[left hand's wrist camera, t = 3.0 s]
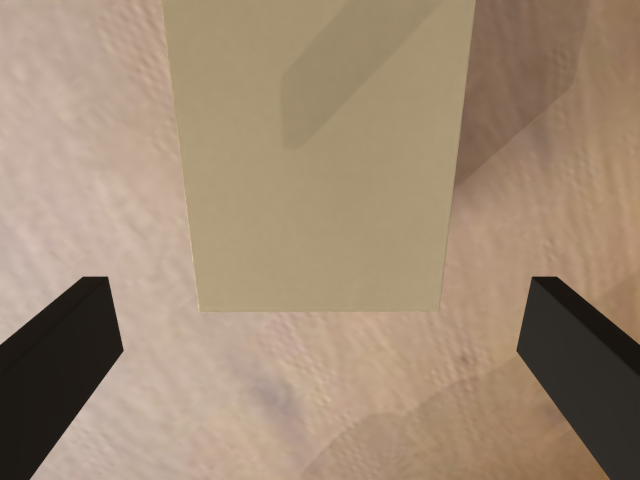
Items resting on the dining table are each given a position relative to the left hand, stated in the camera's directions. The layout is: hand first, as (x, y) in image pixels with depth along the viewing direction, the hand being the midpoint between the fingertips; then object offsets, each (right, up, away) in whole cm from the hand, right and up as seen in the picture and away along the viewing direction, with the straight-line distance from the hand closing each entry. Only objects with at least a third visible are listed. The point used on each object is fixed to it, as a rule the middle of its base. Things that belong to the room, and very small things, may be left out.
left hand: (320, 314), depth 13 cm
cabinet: (0, +11, +13) cm, 16 cm away
